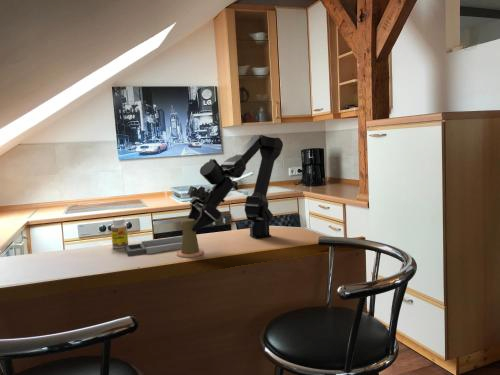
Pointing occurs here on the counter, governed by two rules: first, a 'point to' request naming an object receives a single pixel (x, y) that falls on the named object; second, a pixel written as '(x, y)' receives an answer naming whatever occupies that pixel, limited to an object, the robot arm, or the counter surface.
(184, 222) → the cork
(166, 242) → the guide channel
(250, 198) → the robot arm
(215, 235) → the counter surface
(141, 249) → the trap box
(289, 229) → the counter surface
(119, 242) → the supplement bottle
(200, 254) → the coaster
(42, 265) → the counter surface
